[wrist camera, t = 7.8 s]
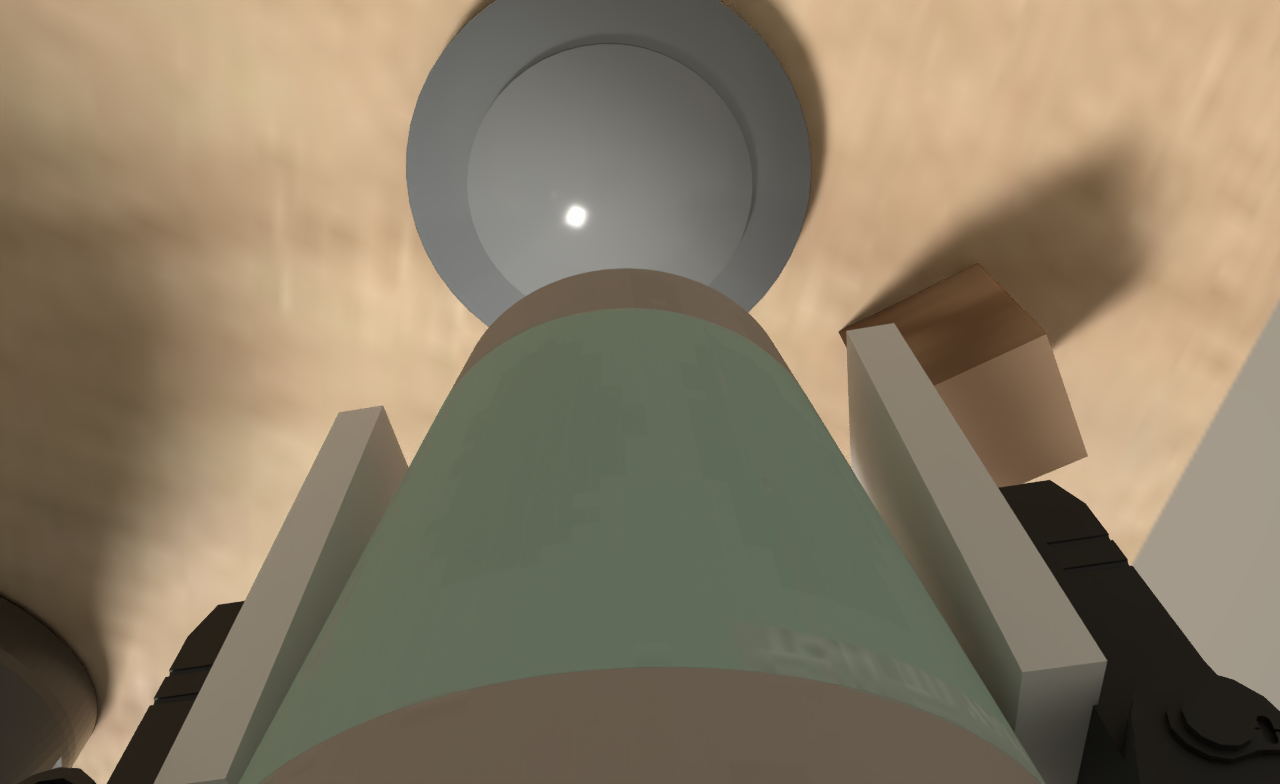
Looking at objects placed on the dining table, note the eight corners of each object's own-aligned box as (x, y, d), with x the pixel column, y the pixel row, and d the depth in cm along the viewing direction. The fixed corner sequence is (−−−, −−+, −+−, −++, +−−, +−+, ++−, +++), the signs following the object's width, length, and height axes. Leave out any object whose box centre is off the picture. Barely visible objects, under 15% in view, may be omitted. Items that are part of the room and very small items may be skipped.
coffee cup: (506, 633, 17) (361, 1717, 7) (276, 288, 13) (-970, 1855, 3) (907, 521, 16) (1432, 1661, 6) (805, 93, 11) (2279, 1760, 1)
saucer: (474, 380, 29) (469, 396, 28) (352, 10, 22) (341, 16, 21) (815, 323, 28) (822, 338, 27) (792, -75, 21) (800, -72, 21)
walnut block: (888, 431, 31) (934, 520, 26) (837, 330, 28) (879, 410, 24) (1018, 372, 29) (1087, 456, 25) (977, 262, 27) (1046, 333, 23)
